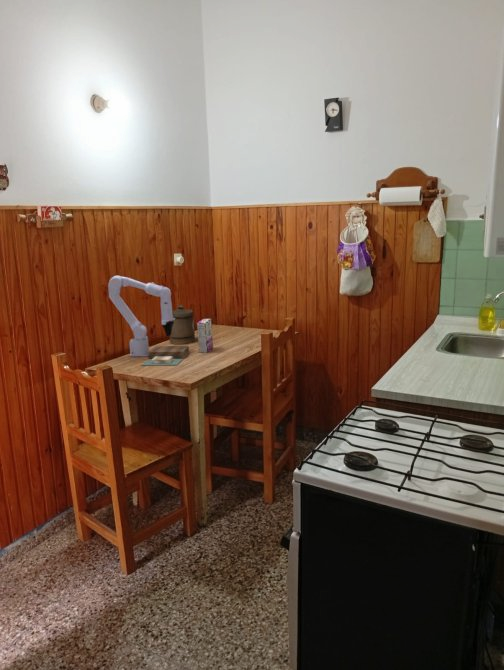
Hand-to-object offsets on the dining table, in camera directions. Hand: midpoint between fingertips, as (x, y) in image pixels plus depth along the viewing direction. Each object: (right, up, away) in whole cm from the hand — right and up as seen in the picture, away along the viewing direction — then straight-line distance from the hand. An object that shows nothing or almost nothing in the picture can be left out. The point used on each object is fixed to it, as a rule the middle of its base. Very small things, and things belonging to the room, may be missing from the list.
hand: (168, 335), depth 257 cm
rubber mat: (0, -13, -18) cm, 22 cm away
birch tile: (0, -11, -18) cm, 21 cm away
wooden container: (+4, -4, +27) cm, 28 cm away
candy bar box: (+20, -8, +4) cm, 22 cm away
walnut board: (+1, -11, -6) cm, 13 cm away
